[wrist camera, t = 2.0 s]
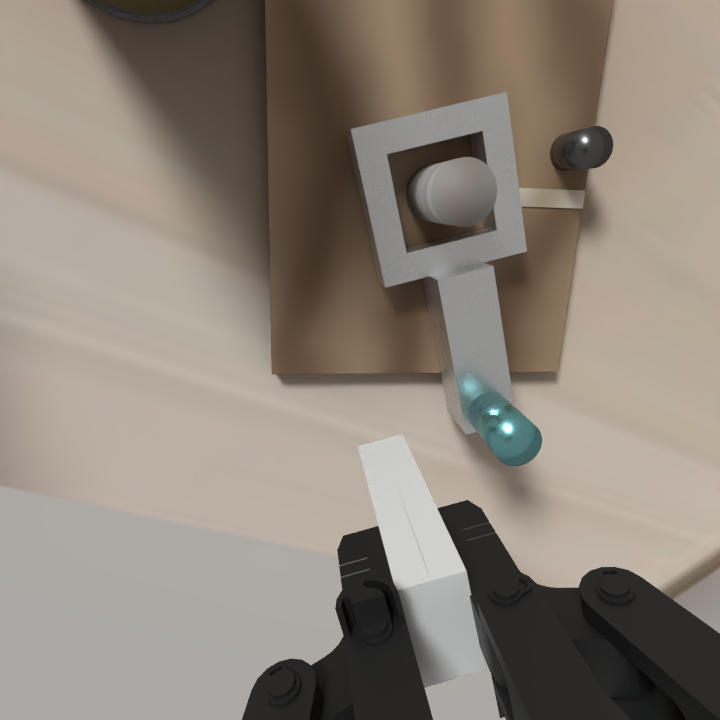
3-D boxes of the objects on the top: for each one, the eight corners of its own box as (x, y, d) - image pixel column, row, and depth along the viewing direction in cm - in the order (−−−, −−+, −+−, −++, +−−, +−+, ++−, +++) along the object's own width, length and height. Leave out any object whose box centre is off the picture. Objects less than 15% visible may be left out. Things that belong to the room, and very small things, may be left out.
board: (272, 368, 32) (267, 412, 25) (265, -57, 26) (256, -148, 19) (548, 365, 34) (610, 405, 28) (604, -25, 28) (702, -95, 21)
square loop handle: (346, 133, 27) (366, 110, 20) (492, 99, 28) (561, 64, 21) (410, 424, 33) (444, 486, 26) (531, 391, 33) (597, 443, 26)
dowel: (538, 171, 31) (573, 167, 27) (542, 134, 30) (579, 125, 26) (570, 172, 31) (609, 169, 27) (575, 136, 30) (616, 127, 26)
